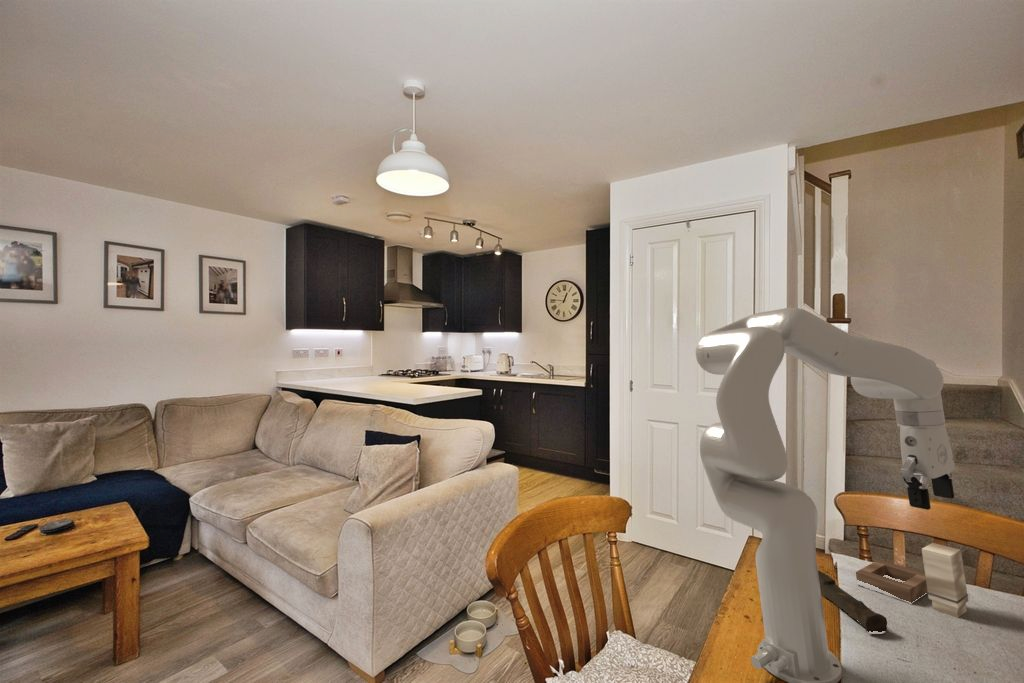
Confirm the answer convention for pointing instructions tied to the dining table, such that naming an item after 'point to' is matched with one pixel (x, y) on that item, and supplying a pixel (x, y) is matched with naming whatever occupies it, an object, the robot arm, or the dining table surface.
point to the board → (906, 590)
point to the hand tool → (851, 605)
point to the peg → (945, 579)
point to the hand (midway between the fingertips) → (932, 502)
